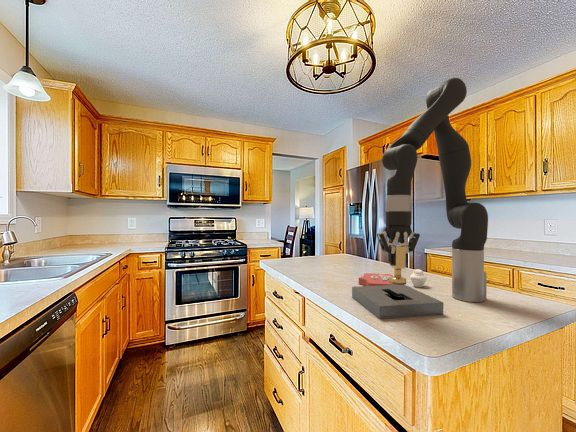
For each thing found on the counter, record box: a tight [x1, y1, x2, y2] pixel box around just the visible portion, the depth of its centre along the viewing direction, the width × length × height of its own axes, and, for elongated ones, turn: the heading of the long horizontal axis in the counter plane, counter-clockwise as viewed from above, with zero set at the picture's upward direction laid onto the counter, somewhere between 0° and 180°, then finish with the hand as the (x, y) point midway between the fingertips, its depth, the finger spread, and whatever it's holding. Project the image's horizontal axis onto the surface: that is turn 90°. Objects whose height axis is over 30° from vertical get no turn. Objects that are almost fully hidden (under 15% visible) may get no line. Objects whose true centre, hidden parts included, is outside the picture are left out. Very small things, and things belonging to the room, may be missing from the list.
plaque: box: [358, 272, 396, 286], centre depth 111 cm, size 18×4×15 cm
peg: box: [389, 245, 407, 285], centre depth 84 cm, size 5×5×12 cm
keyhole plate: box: [351, 284, 444, 320], centre depth 86 cm, size 20×20×4 cm
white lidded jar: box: [409, 268, 428, 288], centre depth 109 cm, size 6×6×7 cm
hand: (397, 264), depth 84 cm, fingers closed on peg, 3 cm apart
